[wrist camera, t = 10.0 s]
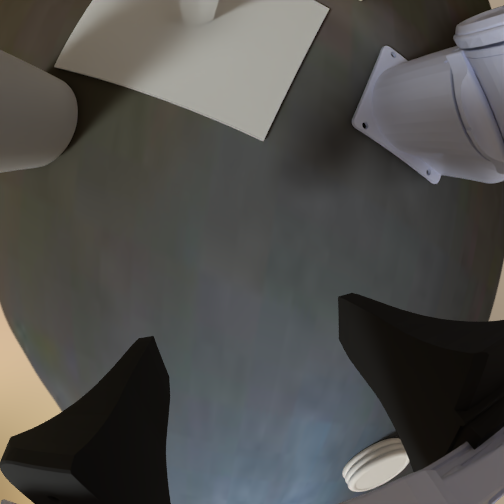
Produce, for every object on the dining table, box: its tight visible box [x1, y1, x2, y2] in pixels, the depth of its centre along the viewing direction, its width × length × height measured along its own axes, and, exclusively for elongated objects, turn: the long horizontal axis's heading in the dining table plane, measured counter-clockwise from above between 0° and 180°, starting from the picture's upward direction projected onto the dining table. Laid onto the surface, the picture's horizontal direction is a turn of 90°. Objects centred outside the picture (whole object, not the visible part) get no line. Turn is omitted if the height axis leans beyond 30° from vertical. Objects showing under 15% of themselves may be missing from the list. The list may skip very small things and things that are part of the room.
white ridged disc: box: [343, 438, 409, 492], centre depth 32 cm, size 10×10×4 cm
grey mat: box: [54, 0, 329, 141], centre depth 15 cm, size 16×12×1 cm
